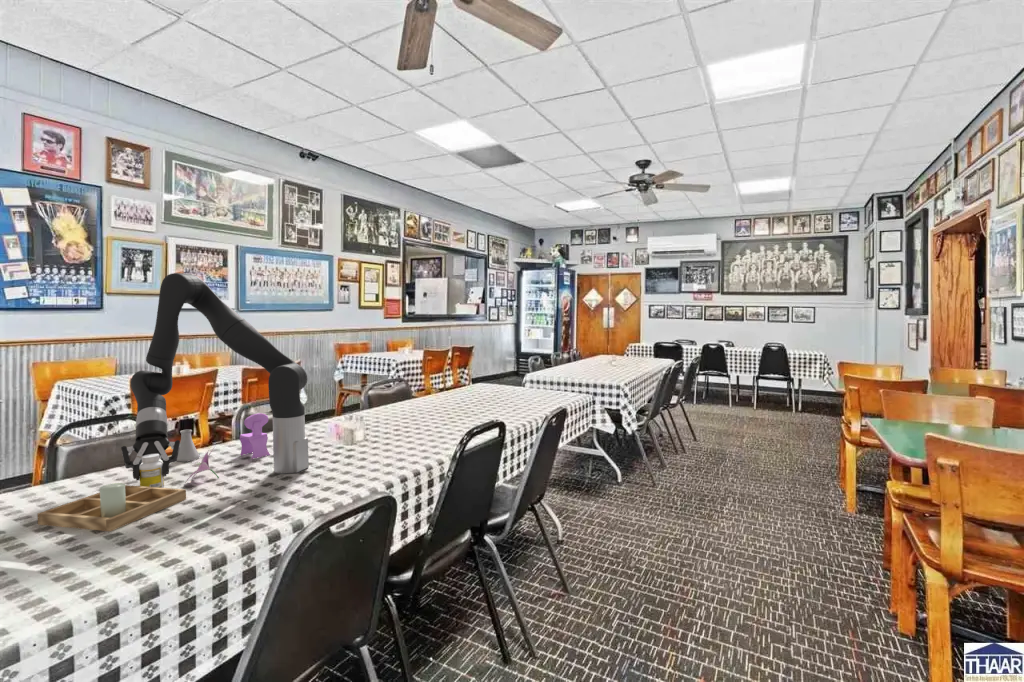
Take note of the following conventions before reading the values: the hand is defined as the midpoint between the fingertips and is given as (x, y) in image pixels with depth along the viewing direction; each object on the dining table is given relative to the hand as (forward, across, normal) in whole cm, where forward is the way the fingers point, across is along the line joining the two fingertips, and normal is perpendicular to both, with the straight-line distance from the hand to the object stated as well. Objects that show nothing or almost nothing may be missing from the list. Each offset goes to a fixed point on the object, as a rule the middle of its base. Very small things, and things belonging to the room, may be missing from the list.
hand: (151, 476), depth 136 cm
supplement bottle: (+2, 0, +4) cm, 5 cm away
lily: (0, +12, +6) cm, 14 cm away
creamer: (+17, -6, -12) cm, 22 cm away
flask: (-20, +8, +26) cm, 34 cm away
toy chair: (-15, +28, +21) cm, 39 cm away
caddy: (+13, -6, -7) cm, 16 cm away
